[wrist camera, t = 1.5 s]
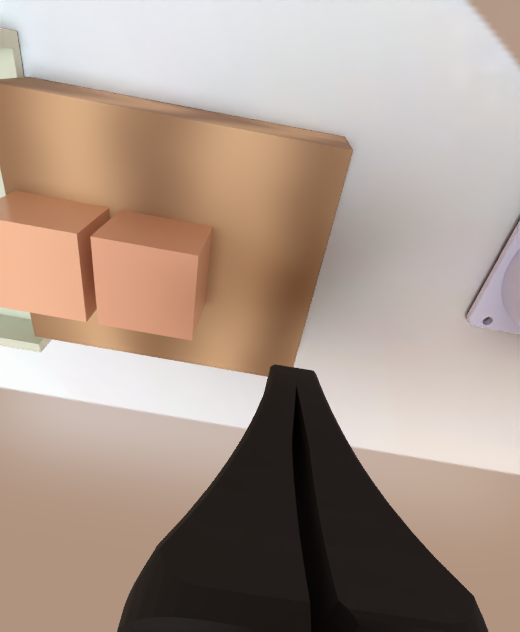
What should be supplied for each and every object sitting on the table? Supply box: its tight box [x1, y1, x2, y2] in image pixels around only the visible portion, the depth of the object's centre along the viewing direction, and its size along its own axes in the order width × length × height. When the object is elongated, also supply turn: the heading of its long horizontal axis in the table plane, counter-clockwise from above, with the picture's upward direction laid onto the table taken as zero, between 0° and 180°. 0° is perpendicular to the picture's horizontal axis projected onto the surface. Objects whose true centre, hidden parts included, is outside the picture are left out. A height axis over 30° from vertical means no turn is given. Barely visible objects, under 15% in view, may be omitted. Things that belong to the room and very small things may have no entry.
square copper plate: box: [0, 77, 353, 377], centre depth 19 cm, size 14×12×3 cm
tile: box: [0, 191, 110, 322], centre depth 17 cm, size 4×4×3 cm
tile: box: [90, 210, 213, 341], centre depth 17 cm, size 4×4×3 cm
